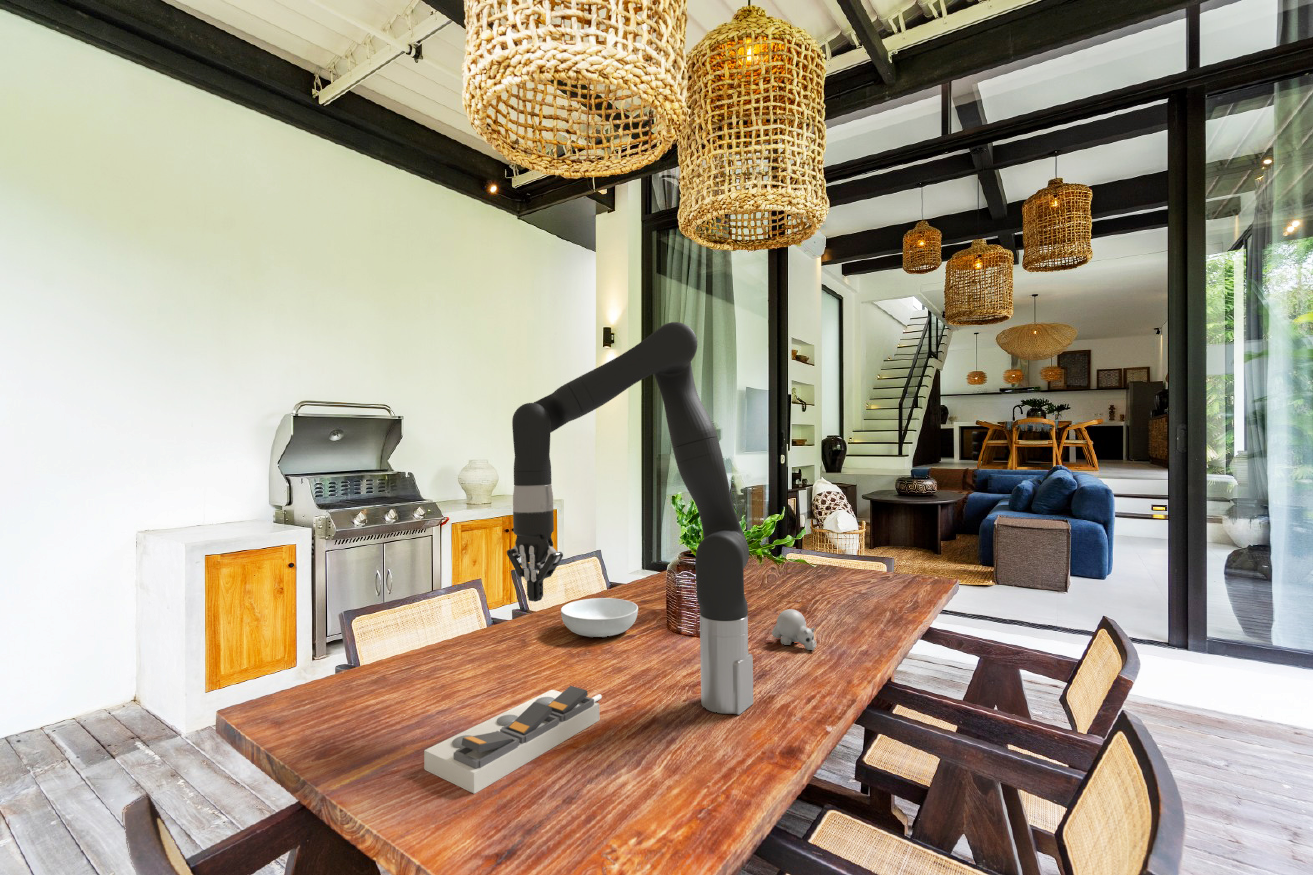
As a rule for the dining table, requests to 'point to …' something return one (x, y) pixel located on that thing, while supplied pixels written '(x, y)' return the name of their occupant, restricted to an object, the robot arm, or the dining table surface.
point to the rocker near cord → (568, 700)
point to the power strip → (494, 764)
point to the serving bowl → (599, 616)
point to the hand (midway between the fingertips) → (535, 600)
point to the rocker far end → (486, 741)
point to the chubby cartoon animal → (794, 629)
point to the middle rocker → (530, 718)
